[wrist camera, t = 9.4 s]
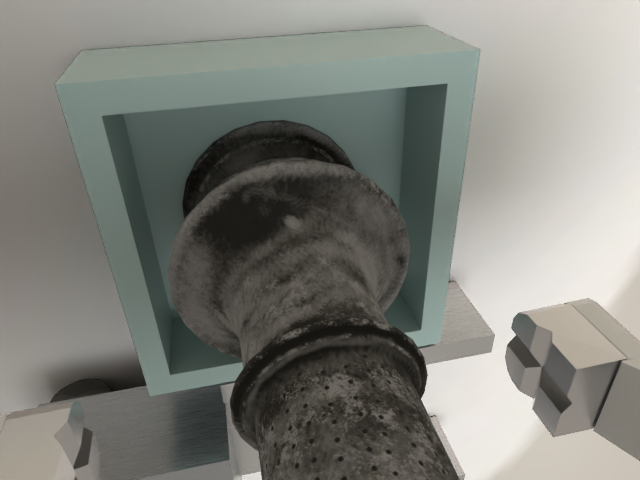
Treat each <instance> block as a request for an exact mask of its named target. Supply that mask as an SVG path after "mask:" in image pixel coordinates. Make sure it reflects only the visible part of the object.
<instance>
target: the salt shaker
mask: <svg viewBox="0 0 640 480" xmlns="http://www.w3.org/2000/svg"><path fill="white" fill-rule="evenodd" d="M182 206H183V214H184V223H183V225H182V226H181V228H180V230H179V232H178V234H177V236H176V238H175V240H174V242H173V245H172V250H171V256H170V262H169V268H168V279H169V285H170V291H171V298H172V302H173V303H174V305H175V307H176V309H177V311H178V313H179V315H180V317H181V318H182V320H183V322H184V324H185V325H186V326H187V327H188V328H189V329H190V330H191V331H192V332H193V333H194V334H195V335H196V336H197V337H198V338H200V339H201V340H202V341H203V342H204V343H206V344H208V345H210V346H211V347H213V348H215V349H217V350H219V351H221V352H222V353H224V354H226V355H229V356H233V357H237V358H240V359H242V363H243V370H242V371H241V373H240V374H239V376H238V377H237V379H236V380H235V383H234V387H233V390H232V394H231V398H230V408H231V417H232V423H233V425H234V427H235V429H236V430H237V432H238V434H239V436H240V437H241V438H242V439H243V440H244V441H245V442H246V443H248V444H249V445H250V446H251V447H252V448H254V449H255V450H257V451H258V452H259V460H260V467H261V475H262V480H460V479H459V477H458V475H457V473H456V471H455V469H454V467H453V465H452V463H451V460H450V458H449V456H448V454H447V452H446V450H445V448H444V446H443V444H442V442H441V440H440V438H439V436H438V434H437V432H436V430H435V428H434V426H433V424H432V421H431V419H430V417H429V415H428V413H427V411H426V409H425V407H424V405H423V403H422V401H421V398H422V396H423V394H424V391H425V386H426V380H427V369H426V364H425V359H424V356H423V354H422V353H421V351H420V350H419V348H418V347H417V345H416V344H415V342H414V341H413V339H411V338H410V337H409V336H407V335H406V334H405V333H403V332H402V331H400V330H399V329H398V328H396V327H393V326H390V325H389V324H388V322H387V320H386V318H385V316H384V313H385V312H386V311H387V309H388V308H389V307H390V305H391V304H392V303H393V301H394V300H395V299H396V297H397V295H398V292H399V290H400V288H401V286H402V283H403V281H404V279H405V277H406V274H407V267H408V260H409V253H410V246H409V240H408V233H407V227H406V223H405V221H404V219H403V218H402V216H401V214H400V212H399V210H398V208H397V206H396V204H395V202H394V201H393V199H392V198H391V197H390V196H389V195H388V194H387V193H386V192H385V191H384V190H383V189H381V188H380V187H379V186H378V185H377V184H376V183H375V182H374V181H373V180H372V179H370V178H368V177H366V176H364V175H362V174H360V173H358V172H356V171H355V169H354V167H353V165H352V164H351V162H350V160H349V158H348V156H347V155H346V153H345V151H344V150H343V149H342V148H341V147H340V146H339V145H337V144H336V143H335V142H334V141H333V140H332V139H331V138H330V137H329V136H328V135H326V134H324V133H322V132H320V131H318V130H316V129H314V128H313V127H311V126H309V125H305V124H300V123H296V122H291V121H286V120H275V121H258V122H255V123H252V124H249V125H245V126H242V127H239V128H236V129H234V130H232V131H230V132H229V133H227V134H226V135H224V136H222V137H221V138H219V139H218V140H216V141H214V142H213V143H212V144H211V145H210V146H209V147H208V148H207V149H206V150H205V152H204V153H203V154H202V155H201V156H200V157H199V158H198V159H197V160H196V162H195V164H194V166H193V168H192V170H191V172H190V174H189V176H188V178H187V180H186V184H185V190H184V196H183V201H182Z"/></svg>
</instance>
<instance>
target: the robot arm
mask: <svg viewBox="0 0 640 480" xmlns="http://www.w3.org/2000/svg"><path fill="white" fill-rule="evenodd" d="M511 328H512V330H513V331H514V332H515V334H516V336H515V337H514V338H513V339H512V340H511V341H510V342H509V344H508V345H507V350H506V355H505V359H506V364H507V370H508V372H509V375H510V377H511V379H512V381H513V382H514V384H515V385H516V387H517V388H518V390H519V391H521V392H522V393H524V394H526V395H528V396H530V397H532V398H533V410H534V412H535V413H536V414H537V416H538V417H539V418H540V420H541V421H542V423H543V424H544V425H545V427H546V428H547V429H548V430H549V432H550V433H551V435H552V436H553V437H556V436H561V435H566V434H570V433H575V432H579V431H584V430H588V429H593V428H594V431H595V432H596V433H598V434H600V435H601V436H602V437H604V438H606V439H607V440H608V441H610V442H612V443H613V444H615V445H616V446H618V447H619V448H621V449H622V450H624V451H626V452H627V453H629V454H630V455H632V456H633V457H635V458H636V459H638V460H639V461H640V341H639V340H638V339H636V338H635V337H634V336H633V335H632V334H631V333H630V332H629V331H628V330H627V329H626V328H624V327H623V326H622V325H621V324H620V323H619V322H618V321H617V320H616V319H615V318H613V317H612V316H611V315H610V314H609V313H608V312H607V311H606V310H605V309H604V308H602V307H601V306H600V305H599V304H598V303H597V302H595V301H593V300H591V299H588V298H587V299H582V300H577V301H573V302H568V303H564V304H558V305H553V306H548V307H543V308H539V309H534V310H529V311H524V312H520V313H518V314H517V315H516V316H515V317H514V319H513V323H512V327H511ZM85 416H86V414H85V412H84V410H83V408H82V406H81V404H80V402H75V401H74V402H68V403H62V404H57V405H51V406H45V407H39V408H34V409H28V410H22V411H17V412H12V413H8V414H3V415H0V480H99V478H100V453H99V448H98V444H97V440H96V438H95V435H94V433H93V431H91V430H89V429H87V428H85V427H84V422H85Z"/></svg>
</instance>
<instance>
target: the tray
mask: <svg viewBox="0 0 640 480" xmlns="http://www.w3.org/2000/svg"><path fill="white" fill-rule="evenodd" d="M479 55H480V49H478V48H476V47H474V46H472V45H469V44H467V43H465V42H463V41H460V40H458V39H456V38H454V37H451V36H449V35H447V34H445V33H442V32H440V31H438V30H436V29H433V28H431V27H429V26H427V25H426V26H412V27H398V28H384V29H370V30H357V31H343V32H329V33H315V34H301V35H287V36H273V37H260V38H246V39H232V40H218V41H204V42H190V43H177V44H163V45H149V46H135V47H121V48H107V49H93V50H81V52H80V53H79V54H78V55H77V57H76V58H75V59H74V60H73V62H72V63H71V64H70V65H69V67H68V68H67V69H66V71H65V72H64V73H63V74H62V76H61V77H60V78H59V79H58V81H57V82H56V83H55V88H56V91H57V94H58V97H59V101H60V104H61V107H62V111H63V114H64V117H65V120H66V124H67V127H68V130H69V133H70V137H71V140H72V143H73V146H74V150H75V153H76V156H77V160H78V163H79V166H80V169H81V173H82V176H83V179H84V182H85V186H86V189H87V192H88V195H89V199H90V202H91V205H92V209H93V212H94V215H95V218H96V222H97V225H98V228H99V231H100V235H101V238H102V241H103V245H104V248H105V251H106V254H107V258H108V261H109V264H110V267H111V271H112V274H113V277H114V280H115V284H116V287H117V290H118V294H119V297H120V300H121V303H122V307H123V310H124V313H125V316H126V320H127V323H128V326H129V330H130V333H131V336H132V339H133V343H134V346H135V349H136V352H137V356H138V359H139V362H140V365H141V369H142V372H143V375H144V379H145V382H146V385H147V388H148V392H149V395H150V396H155V395H160V394H166V393H171V392H176V391H182V390H187V389H193V388H198V387H203V386H209V385H214V384H220V383H225V382H231V381H235V380H236V379H237V377H238V376H239V374H240V373H241V371H242V370H243V363H242V359H240V358H237V357H233V356H229V355H226V354H224V353H222V352H221V351H219V350H217V349H215V348H213V347H211V346H210V345H208V344H206V343H204V342H203V341H202V340H201V339H200V338H198V337H197V336H196V335H195V334H194V333H193V332H192V331H191V330H190V329H189V328H188V327H187V326H186V325H185V324H184V322H183V320H182V318H181V317H180V315H179V313H178V311H177V309H176V307H175V305H174V303H173V302H172V298H171V291H170V285H169V279H168V268H169V262H170V256H171V250H172V245H173V242H174V240H175V238H176V236H177V234H178V232H179V230H180V228H181V226H182V225H183V223H184V214H183V206H182V201H183V196H184V190H185V184H186V180H187V178H188V176H189V174H190V172H191V170H192V168H193V166H194V164H195V162H196V160H197V159H198V158H199V157H200V156H201V155H202V154H203V153H204V152H205V150H206V149H207V148H208V147H209V146H210V145H211V144H212V143H213V142H214V141H216V140H218V139H219V138H221V137H222V136H224V135H226V134H227V133H229V132H230V131H232V130H234V129H236V128H239V127H242V126H245V125H249V124H252V123H255V122H258V121H275V120H286V121H291V122H296V123H300V124H305V125H309V126H311V127H313V128H314V129H316V130H318V131H320V132H322V133H324V134H326V135H328V136H329V137H330V138H331V139H332V140H333V141H334V142H335V143H336V144H337V145H339V146H340V147H341V148H342V149H343V150H344V151H345V153H346V155H347V156H348V158H349V160H350V162H351V164H352V165H353V167H354V169H355V171H356V172H358V173H360V174H362V175H364V176H366V177H368V178H370V179H372V180H373V181H374V182H375V183H376V184H377V185H378V186H379V187H380V188H381V189H383V190H384V191H385V192H386V193H387V194H388V195H389V196H390V197H391V198H392V199H393V201H394V202H395V204H396V206H397V208H398V210H399V212H400V214H401V216H402V218H403V219H404V221H405V223H406V227H407V233H408V240H409V246H410V253H409V260H408V267H407V274H406V277H405V279H404V281H403V283H402V286H401V288H400V290H399V292H398V295H397V297H396V299H395V300H394V301H393V303H392V304H391V305H390V307H389V308H388V309H387V311H386V312H385V313H384V316H385V318H386V320H387V322H388V324H389V325H390V326H393V327H396V328H398V329H399V330H400V331H402V332H403V333H405V334H406V335H407V336H409V337H410V338H411V339H413V341H414V342H415V344H416V345H417V347H420V346H425V345H431V344H436V343H440V340H441V332H442V325H443V318H444V311H445V303H446V296H447V289H448V281H449V274H450V267H451V259H452V252H453V245H454V238H455V230H456V223H457V216H458V208H459V201H460V194H461V186H462V179H463V172H464V165H465V157H466V150H467V143H468V135H469V128H470V121H471V113H472V106H473V99H474V92H475V84H476V77H477V70H478V62H479Z"/></svg>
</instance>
